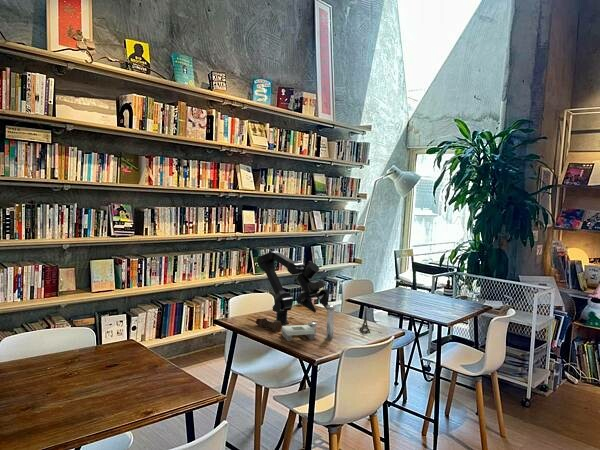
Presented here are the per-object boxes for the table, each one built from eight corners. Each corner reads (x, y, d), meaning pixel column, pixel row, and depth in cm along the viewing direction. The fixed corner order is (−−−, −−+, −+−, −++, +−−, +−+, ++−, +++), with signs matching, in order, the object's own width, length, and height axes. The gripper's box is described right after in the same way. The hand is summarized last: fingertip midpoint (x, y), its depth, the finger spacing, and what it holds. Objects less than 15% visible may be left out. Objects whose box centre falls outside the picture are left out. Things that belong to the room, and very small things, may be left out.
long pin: (323, 337, 206) (324, 304, 205) (332, 336, 208) (333, 304, 207) (326, 340, 202) (328, 306, 201) (335, 339, 203) (337, 306, 203)
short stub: (306, 331, 214) (306, 321, 214) (315, 331, 216) (315, 321, 215) (309, 334, 210) (309, 324, 210) (318, 333, 211) (318, 324, 211)
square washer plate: (281, 334, 208) (281, 326, 208) (307, 332, 212) (307, 324, 212) (287, 341, 199) (287, 332, 198) (314, 339, 203) (314, 330, 202)
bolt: (258, 328, 223) (279, 334, 213) (252, 325, 220) (272, 330, 210) (262, 317, 225) (283, 322, 215) (256, 314, 222) (277, 319, 212)
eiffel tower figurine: (384, 334, 217) (385, 307, 216) (371, 338, 210) (373, 310, 209) (360, 327, 227) (361, 301, 227) (347, 330, 220) (348, 304, 220)
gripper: (301, 276, 204) (318, 303, 197) (327, 272, 218) (344, 298, 210) (289, 290, 210) (304, 317, 203) (315, 285, 224) (331, 311, 216)
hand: (322, 310), depth 208 cm, fingers open, 9 cm apart
